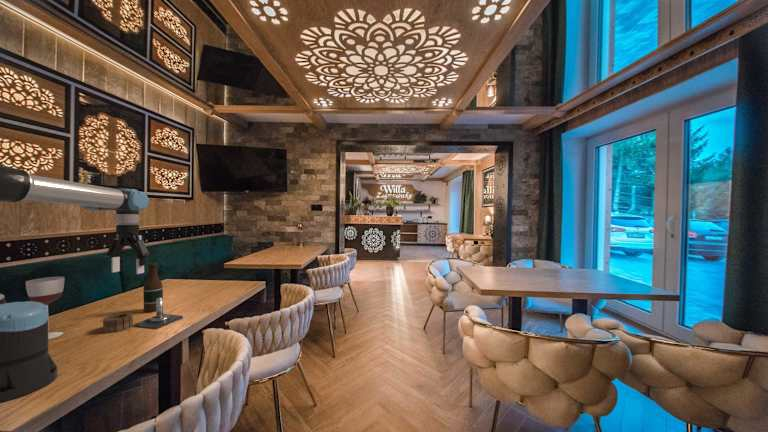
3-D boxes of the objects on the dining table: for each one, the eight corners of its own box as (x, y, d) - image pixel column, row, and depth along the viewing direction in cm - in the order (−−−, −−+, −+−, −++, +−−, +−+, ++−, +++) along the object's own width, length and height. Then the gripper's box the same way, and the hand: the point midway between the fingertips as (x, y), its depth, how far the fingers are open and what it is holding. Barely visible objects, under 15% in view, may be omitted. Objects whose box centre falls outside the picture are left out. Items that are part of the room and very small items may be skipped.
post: (157, 328, 121) (157, 302, 121) (135, 326, 123) (134, 300, 123) (182, 318, 133) (182, 294, 132) (161, 316, 135) (161, 293, 135)
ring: (114, 333, 116) (114, 321, 116) (97, 331, 118) (97, 319, 118) (137, 324, 125) (137, 313, 125) (121, 323, 126) (121, 312, 126)
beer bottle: (146, 308, 145) (145, 262, 145) (165, 306, 148) (164, 261, 148) (140, 313, 138) (140, 265, 137) (160, 311, 141) (160, 263, 141)
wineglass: (23, 339, 111) (22, 280, 110) (61, 329, 120) (60, 275, 119) (30, 344, 106) (29, 283, 106) (69, 334, 115) (68, 278, 115)
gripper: (159, 224, 125) (159, 272, 125) (115, 223, 130) (115, 269, 130) (141, 224, 117) (141, 275, 117) (95, 224, 122) (95, 272, 123)
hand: (127, 272), depth 124 cm, fingers open, 13 cm apart
